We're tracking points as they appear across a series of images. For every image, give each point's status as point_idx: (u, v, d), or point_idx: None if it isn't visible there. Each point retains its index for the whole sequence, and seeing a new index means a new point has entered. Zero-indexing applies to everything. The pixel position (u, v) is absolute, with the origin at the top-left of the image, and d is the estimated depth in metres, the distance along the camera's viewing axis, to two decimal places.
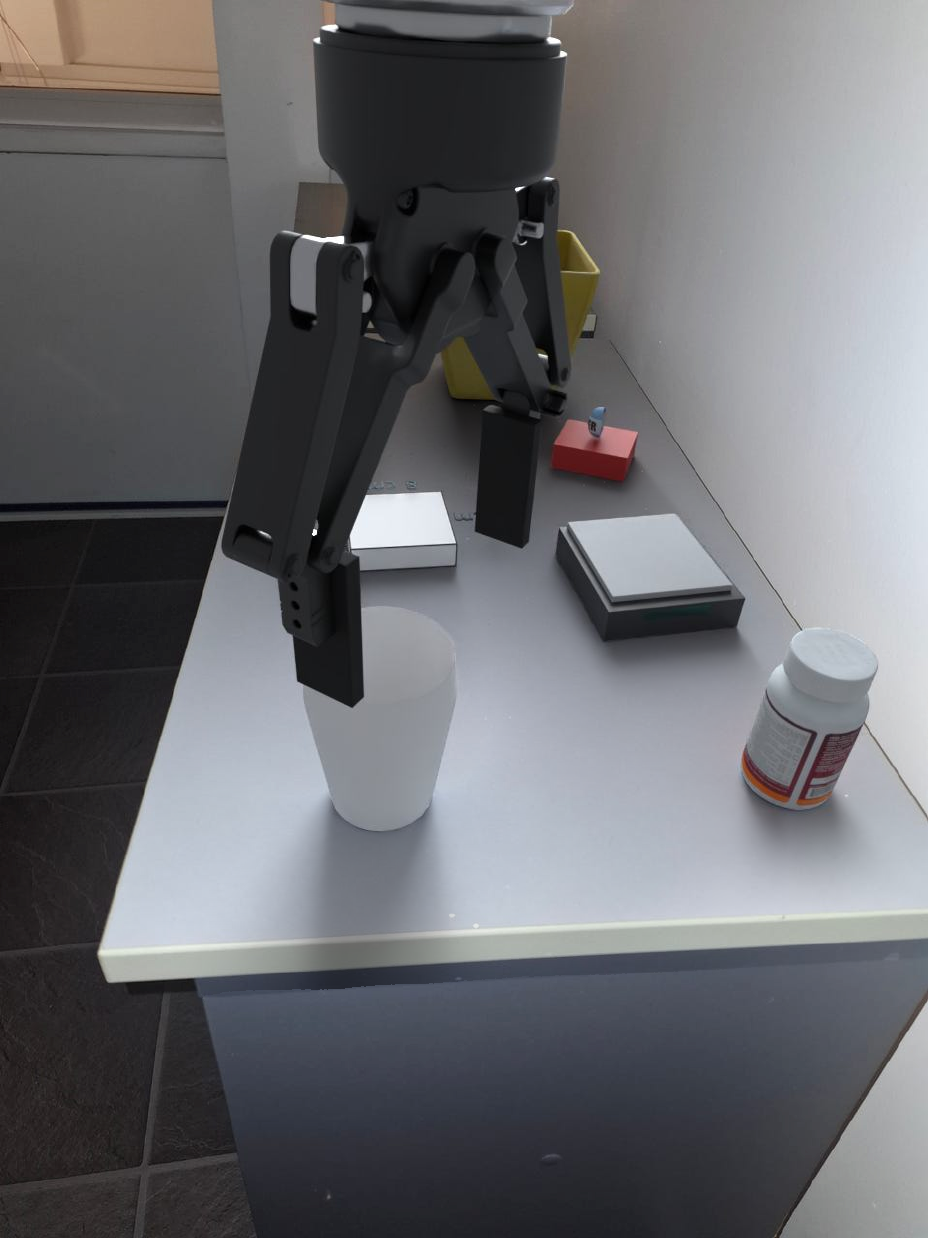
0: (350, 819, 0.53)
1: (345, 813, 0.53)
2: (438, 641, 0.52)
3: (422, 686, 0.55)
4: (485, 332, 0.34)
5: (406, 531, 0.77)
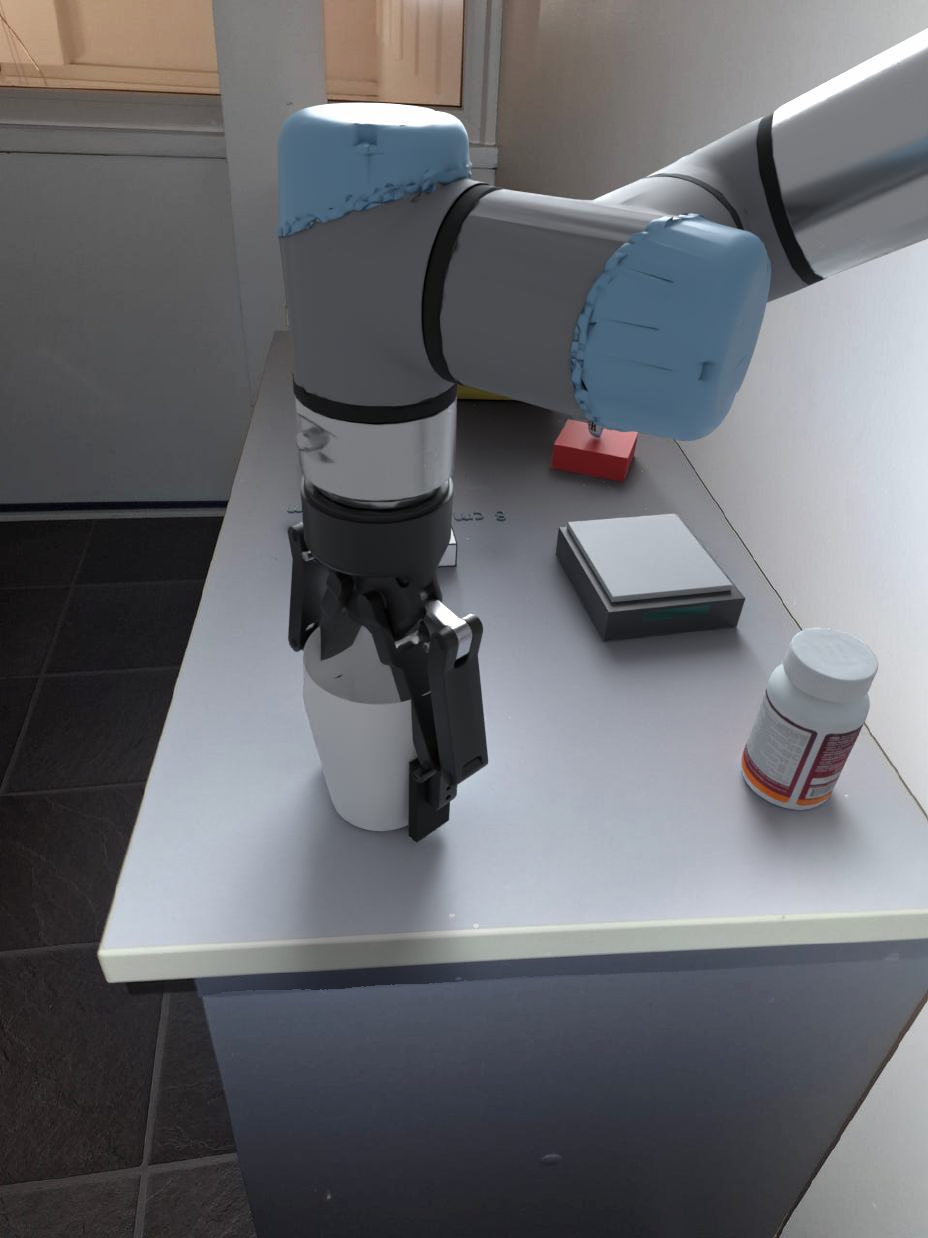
0: (350, 819, 0.53)
1: (345, 813, 0.53)
2: None
3: None
4: None
5: None
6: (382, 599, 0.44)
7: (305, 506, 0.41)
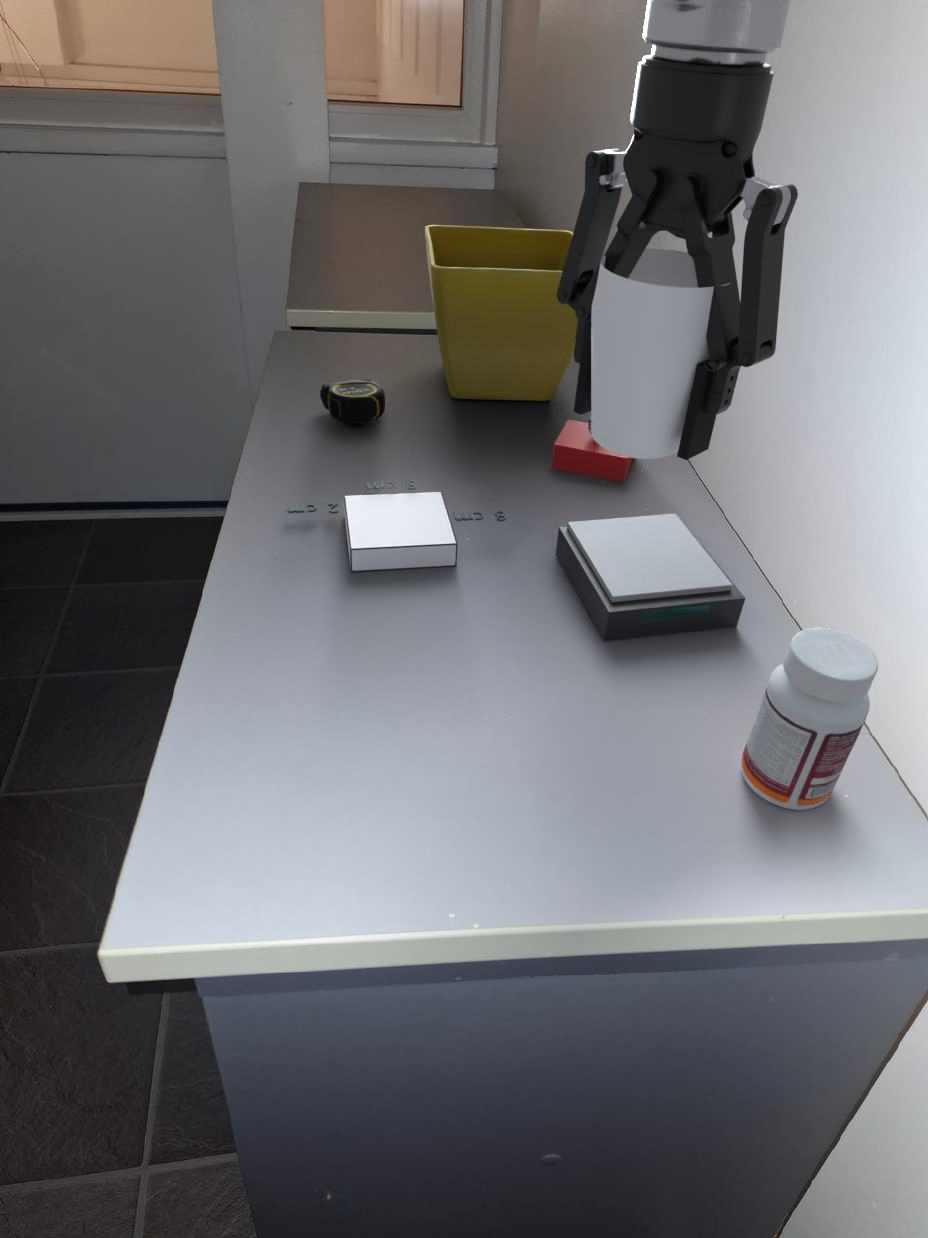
0: (620, 448, 0.59)
1: (616, 441, 0.59)
2: None
3: None
4: (640, 243, 0.56)
5: (406, 531, 0.77)
6: (699, 183, 0.50)
7: (652, 75, 0.47)
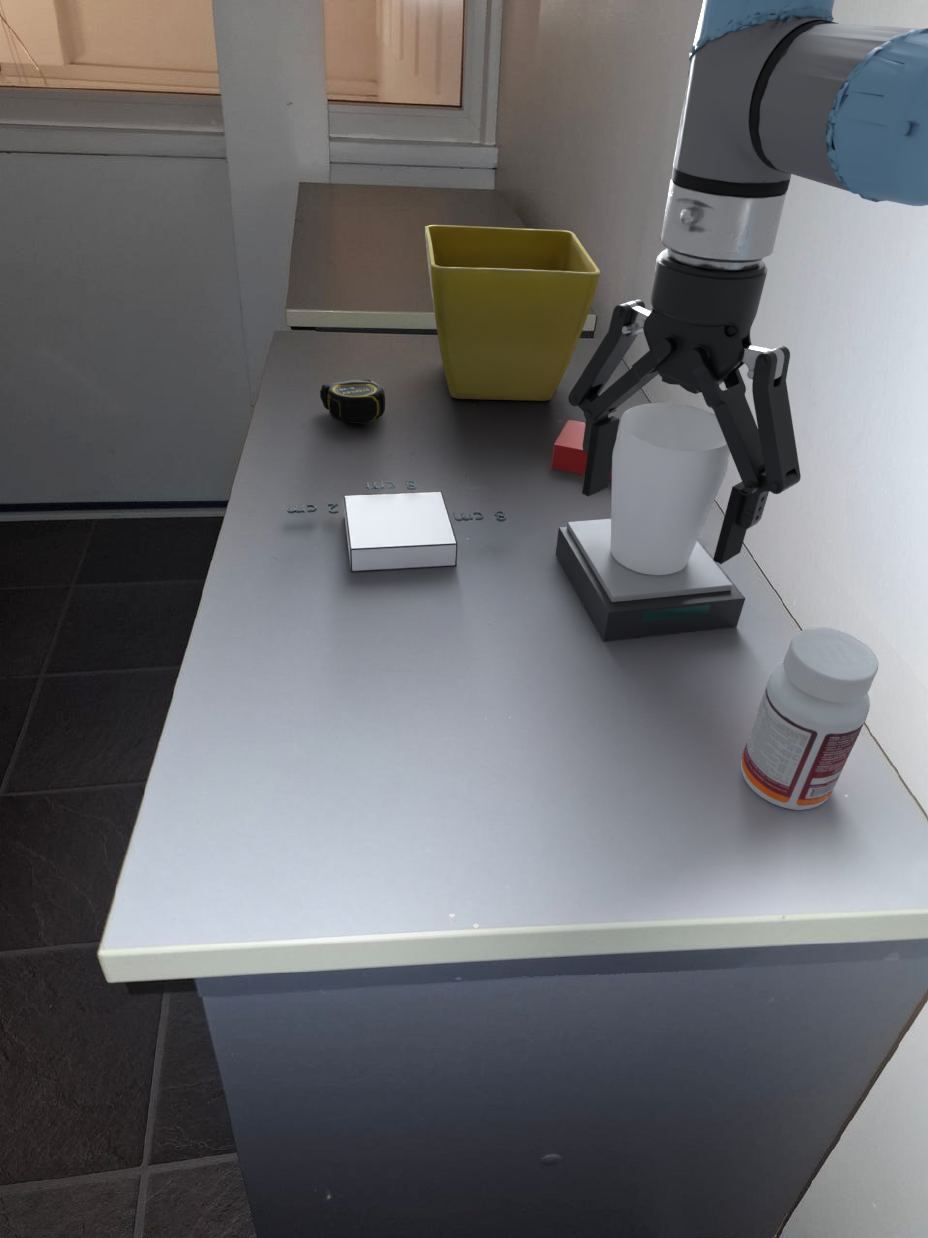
0: (634, 566, 0.71)
1: (631, 561, 0.71)
2: (707, 427, 0.70)
3: None
4: (647, 379, 0.67)
5: (406, 531, 0.77)
6: (705, 351, 0.61)
7: (668, 274, 0.58)
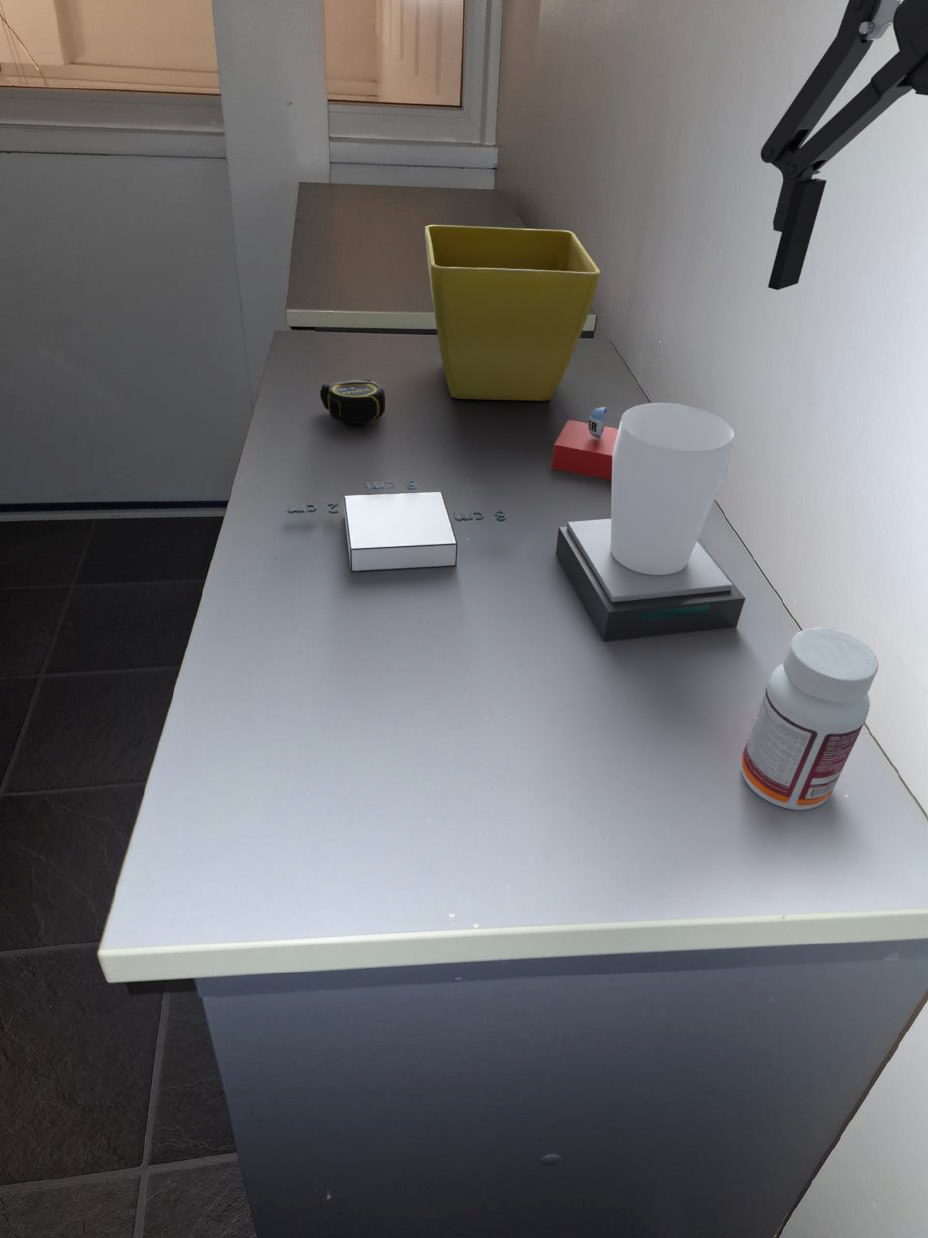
0: (634, 566, 0.71)
1: (631, 561, 0.71)
2: (707, 427, 0.70)
3: None
4: (885, 103, 0.50)
5: (406, 531, 0.77)
6: None
7: None
